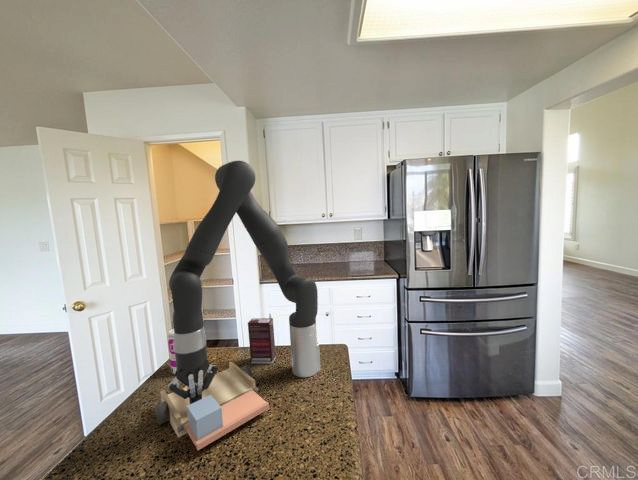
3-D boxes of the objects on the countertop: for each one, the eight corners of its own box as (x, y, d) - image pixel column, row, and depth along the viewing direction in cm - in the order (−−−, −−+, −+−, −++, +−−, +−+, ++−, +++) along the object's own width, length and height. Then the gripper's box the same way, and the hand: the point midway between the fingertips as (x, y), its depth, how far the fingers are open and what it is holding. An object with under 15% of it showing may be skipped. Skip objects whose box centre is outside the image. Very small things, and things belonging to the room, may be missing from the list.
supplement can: (186, 376, 96) (182, 335, 95) (165, 374, 98) (161, 334, 97) (200, 364, 104) (196, 325, 103) (181, 362, 106) (177, 325, 105)
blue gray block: (212, 412, 73) (210, 394, 72) (223, 426, 67) (221, 407, 67) (188, 424, 69) (186, 406, 68) (198, 440, 63) (196, 420, 63)
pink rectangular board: (252, 389, 82) (268, 403, 75) (252, 393, 82) (269, 408, 75) (184, 424, 69) (197, 444, 62) (185, 429, 69) (197, 450, 62)
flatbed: (239, 372, 97) (238, 358, 97) (265, 394, 84) (264, 378, 84) (152, 411, 79) (150, 395, 78) (168, 446, 66) (166, 427, 65)
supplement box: (276, 357, 106) (273, 317, 105) (272, 364, 101) (269, 322, 100) (254, 357, 107) (252, 317, 106) (250, 363, 103) (247, 322, 101)
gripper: (210, 333, 79) (214, 390, 81) (158, 350, 70) (165, 413, 72) (221, 340, 74) (226, 401, 75) (167, 360, 65) (174, 428, 66)
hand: (196, 407), depth 73 cm, fingers closed
